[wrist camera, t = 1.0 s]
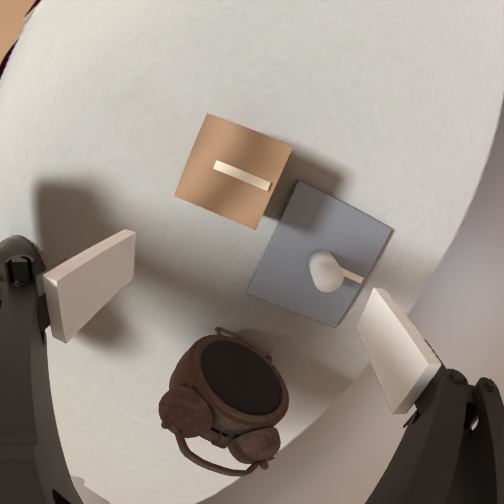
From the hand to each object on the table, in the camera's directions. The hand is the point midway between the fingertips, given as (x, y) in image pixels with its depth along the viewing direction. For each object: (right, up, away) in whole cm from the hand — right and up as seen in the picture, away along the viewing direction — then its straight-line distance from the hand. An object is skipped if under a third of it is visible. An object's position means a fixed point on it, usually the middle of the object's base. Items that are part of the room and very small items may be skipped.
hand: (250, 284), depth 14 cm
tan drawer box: (-1, +11, +16) cm, 20 cm away
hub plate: (+8, +1, +19) cm, 21 cm away
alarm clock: (-2, -12, +24) cm, 27 cm away
